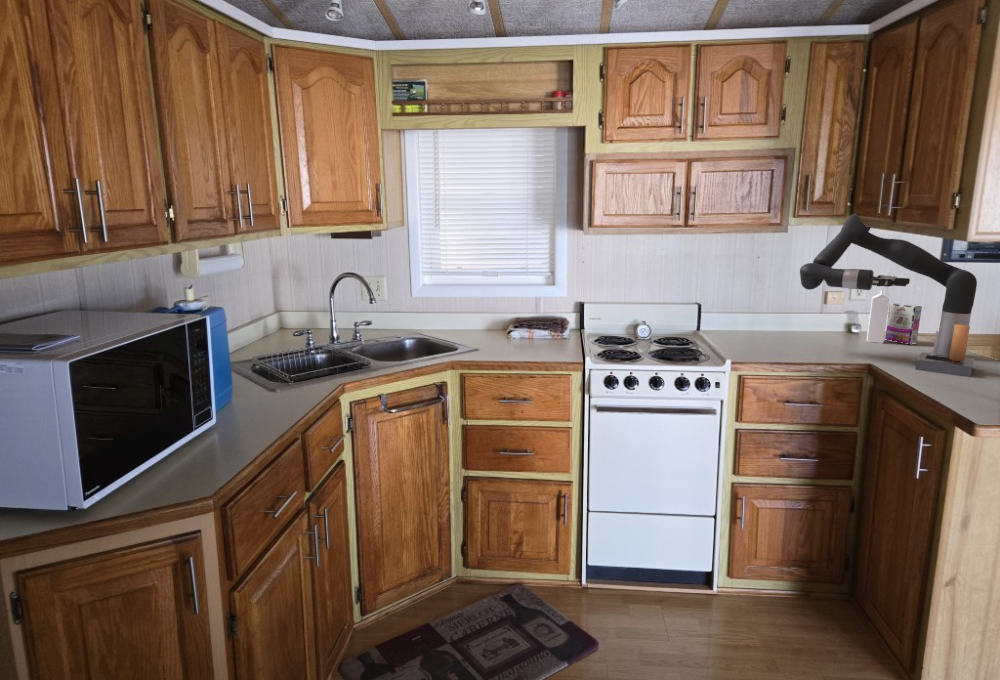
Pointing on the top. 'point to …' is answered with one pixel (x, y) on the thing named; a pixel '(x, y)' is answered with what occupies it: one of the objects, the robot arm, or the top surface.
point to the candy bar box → (903, 323)
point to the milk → (877, 318)
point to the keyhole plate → (944, 364)
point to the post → (959, 342)
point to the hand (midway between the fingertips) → (908, 282)
